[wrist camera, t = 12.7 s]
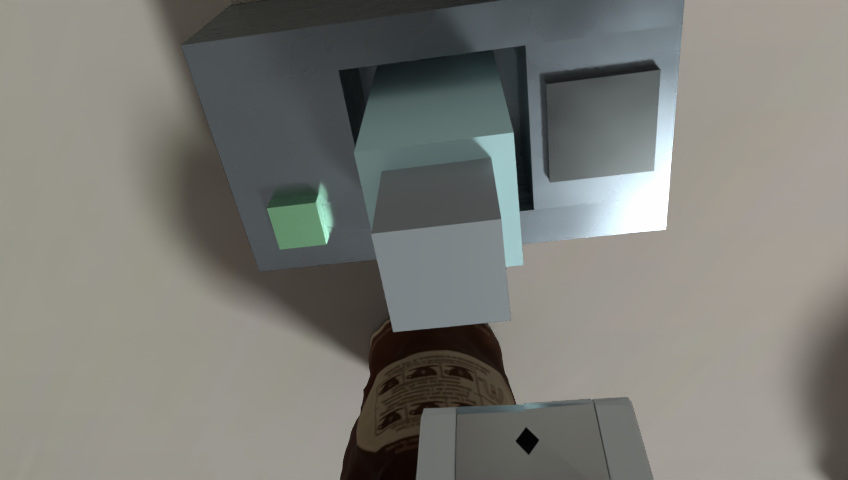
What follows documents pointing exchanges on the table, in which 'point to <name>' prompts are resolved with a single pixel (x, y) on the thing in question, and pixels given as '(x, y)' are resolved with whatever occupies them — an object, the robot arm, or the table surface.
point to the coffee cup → (419, 393)
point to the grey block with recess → (427, 39)
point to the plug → (441, 190)
